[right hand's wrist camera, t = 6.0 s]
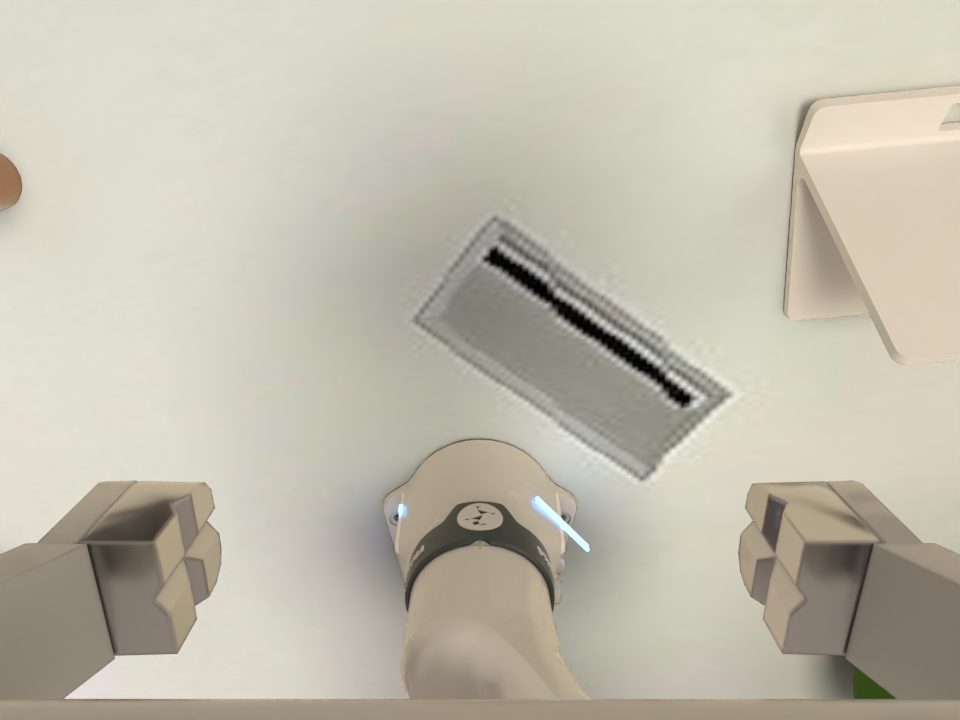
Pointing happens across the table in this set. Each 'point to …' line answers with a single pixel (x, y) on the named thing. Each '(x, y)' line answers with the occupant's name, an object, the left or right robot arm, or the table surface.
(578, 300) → the table surface
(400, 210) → the table surface
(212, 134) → the table surface
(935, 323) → the tablet stand
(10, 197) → the jar
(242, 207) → the table surface
